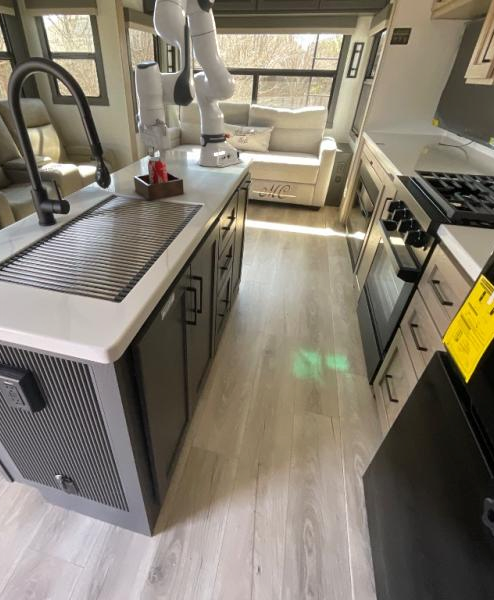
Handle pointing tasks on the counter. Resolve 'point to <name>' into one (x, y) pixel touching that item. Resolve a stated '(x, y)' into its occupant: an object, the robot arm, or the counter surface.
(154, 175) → the soda can
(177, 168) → the counter surface
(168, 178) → the box
